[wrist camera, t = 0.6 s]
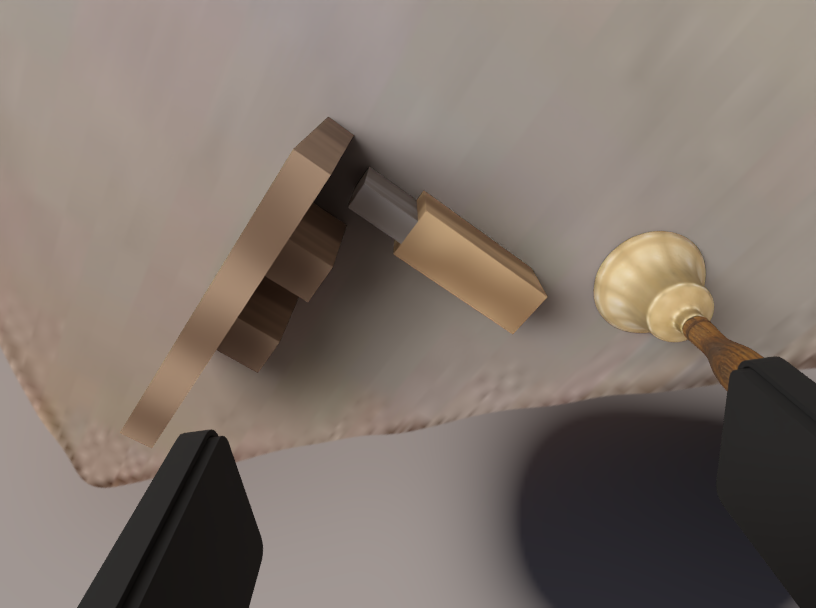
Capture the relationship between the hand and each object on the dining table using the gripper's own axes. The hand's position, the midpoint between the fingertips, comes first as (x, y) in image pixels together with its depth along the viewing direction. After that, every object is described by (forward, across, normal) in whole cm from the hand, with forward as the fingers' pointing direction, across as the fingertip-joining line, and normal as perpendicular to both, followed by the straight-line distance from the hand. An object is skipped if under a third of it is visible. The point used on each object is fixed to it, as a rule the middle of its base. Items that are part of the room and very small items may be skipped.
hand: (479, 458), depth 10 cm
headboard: (+30, +10, +5) cm, 31 cm away
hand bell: (+29, -16, +10) cm, 35 cm away
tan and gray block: (+29, -1, +4) cm, 30 cm away
